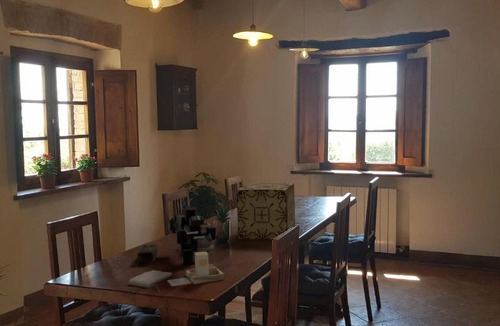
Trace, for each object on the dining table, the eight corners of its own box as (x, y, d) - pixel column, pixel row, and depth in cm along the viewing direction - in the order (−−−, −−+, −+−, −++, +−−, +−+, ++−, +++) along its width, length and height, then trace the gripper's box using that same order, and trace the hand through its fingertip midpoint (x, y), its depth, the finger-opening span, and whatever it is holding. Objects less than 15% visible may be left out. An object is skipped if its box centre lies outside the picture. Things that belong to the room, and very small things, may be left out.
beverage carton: (158, 254, 276) (157, 243, 276) (153, 264, 257) (152, 252, 257) (143, 255, 276) (143, 243, 276) (137, 265, 257) (136, 252, 256)
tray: (185, 276, 235) (185, 270, 235) (214, 272, 241) (214, 266, 240) (194, 285, 222) (193, 278, 222) (224, 280, 228) (224, 274, 227)
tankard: (217, 249, 284) (216, 222, 283) (196, 252, 278) (195, 225, 276) (201, 242, 301) (200, 217, 300) (181, 245, 295) (180, 220, 293)
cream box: (195, 278, 230) (194, 252, 229) (206, 277, 231) (205, 251, 230) (198, 282, 225) (197, 255, 224) (209, 280, 226) (208, 253, 225)
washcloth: (174, 277, 236) (173, 271, 236) (149, 289, 220) (149, 282, 220) (153, 274, 241) (153, 268, 241) (128, 286, 226) (127, 279, 225)
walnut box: (204, 273, 237) (203, 264, 237) (212, 272, 239) (212, 263, 239) (208, 277, 231) (208, 268, 231) (217, 276, 232) (216, 267, 232)
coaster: (167, 281, 229) (167, 280, 229) (186, 278, 232) (186, 277, 232) (171, 287, 220) (171, 286, 220) (192, 284, 224) (191, 283, 224)
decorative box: (238, 239, 307) (236, 189, 305) (250, 228, 336) (248, 183, 334) (287, 240, 300) (286, 189, 298) (295, 229, 329) (294, 183, 327)
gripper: (172, 215, 242) (180, 227, 227) (210, 212, 248) (220, 222, 234) (173, 237, 244) (180, 250, 230) (210, 233, 251) (220, 245, 237)
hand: (200, 241), depth 233 cm, fingers open, 9 cm apart
